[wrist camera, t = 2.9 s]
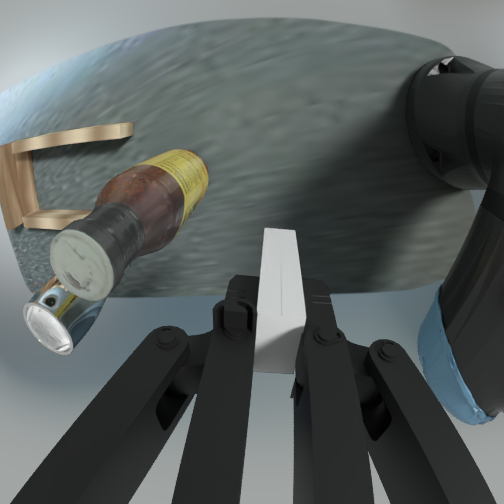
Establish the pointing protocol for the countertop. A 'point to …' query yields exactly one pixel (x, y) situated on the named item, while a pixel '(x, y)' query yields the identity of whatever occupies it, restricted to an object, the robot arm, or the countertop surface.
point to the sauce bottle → (128, 222)
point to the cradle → (23, 183)
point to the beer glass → (60, 316)
